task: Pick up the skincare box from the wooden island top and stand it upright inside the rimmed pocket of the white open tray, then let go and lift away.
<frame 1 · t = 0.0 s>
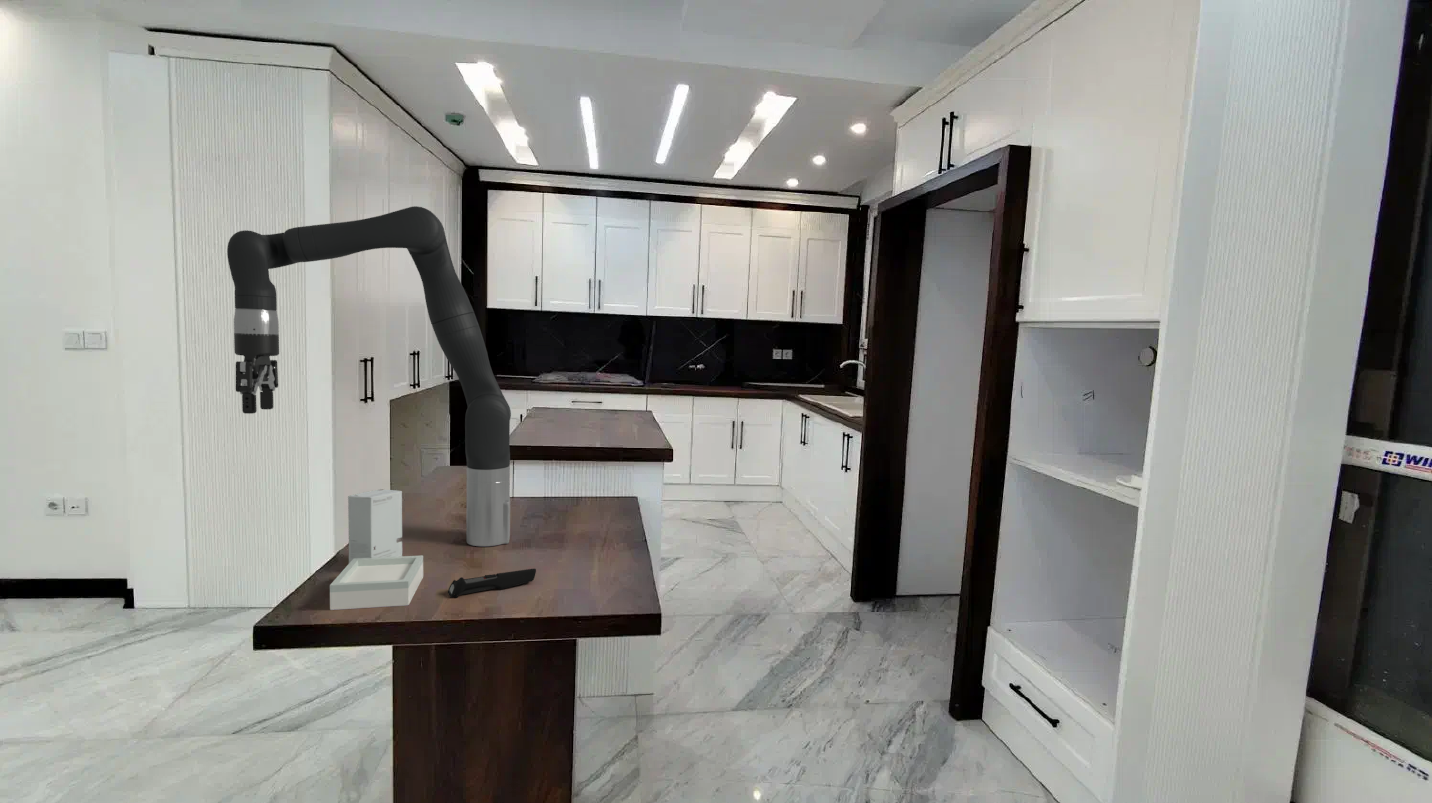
hand: (258, 411, 136), 29 cm above the table, tool pointing down, fingers open, 8 cm apart
electric trimmer: (491, 590, 121), on the table
skincare box: (376, 566, 131), on the table
white open tray: (379, 592, 118), on the table
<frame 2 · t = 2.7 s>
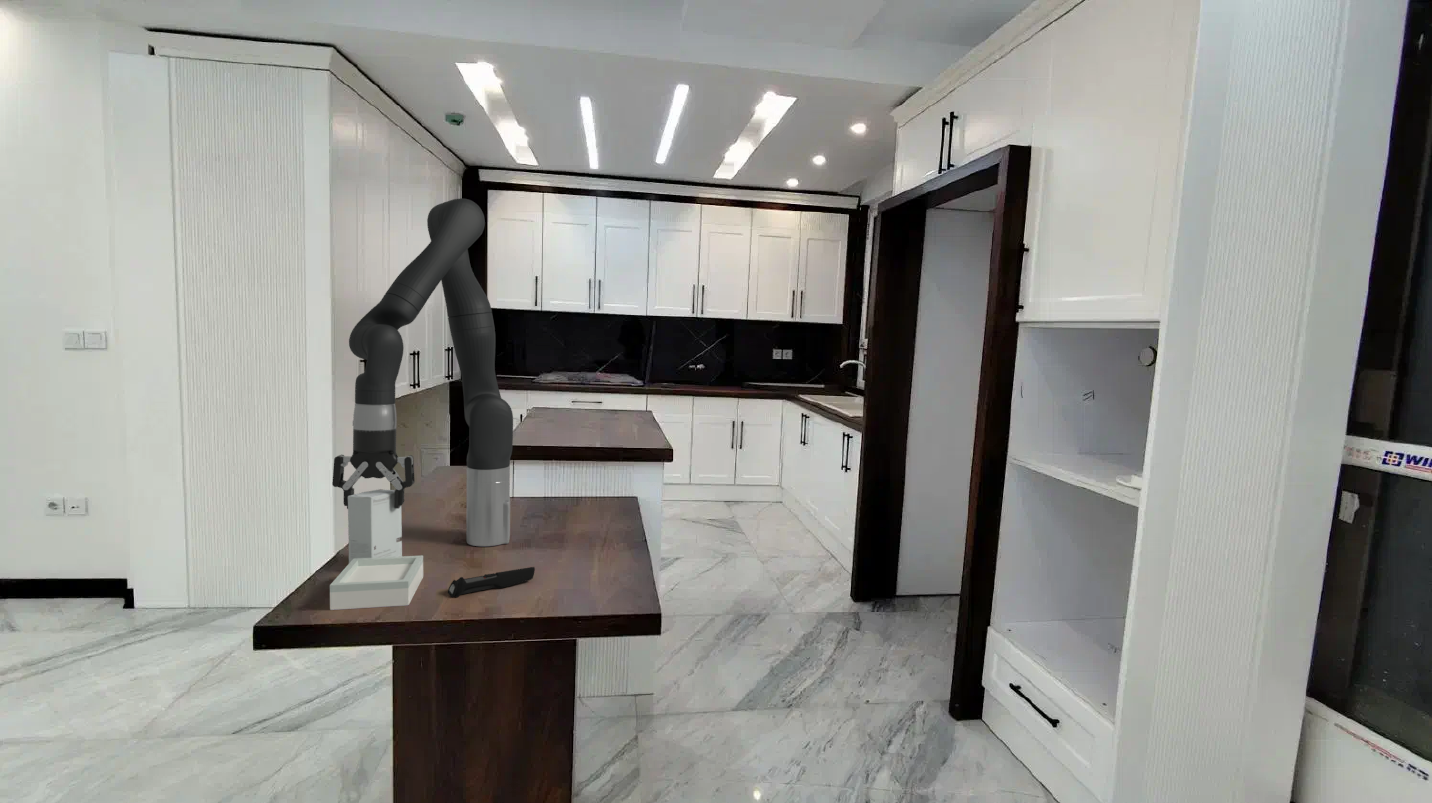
hand: (374, 507, 130), 12 cm above the table, tool pointing down, fingers open, 8 cm apart
nothing on the table moved.
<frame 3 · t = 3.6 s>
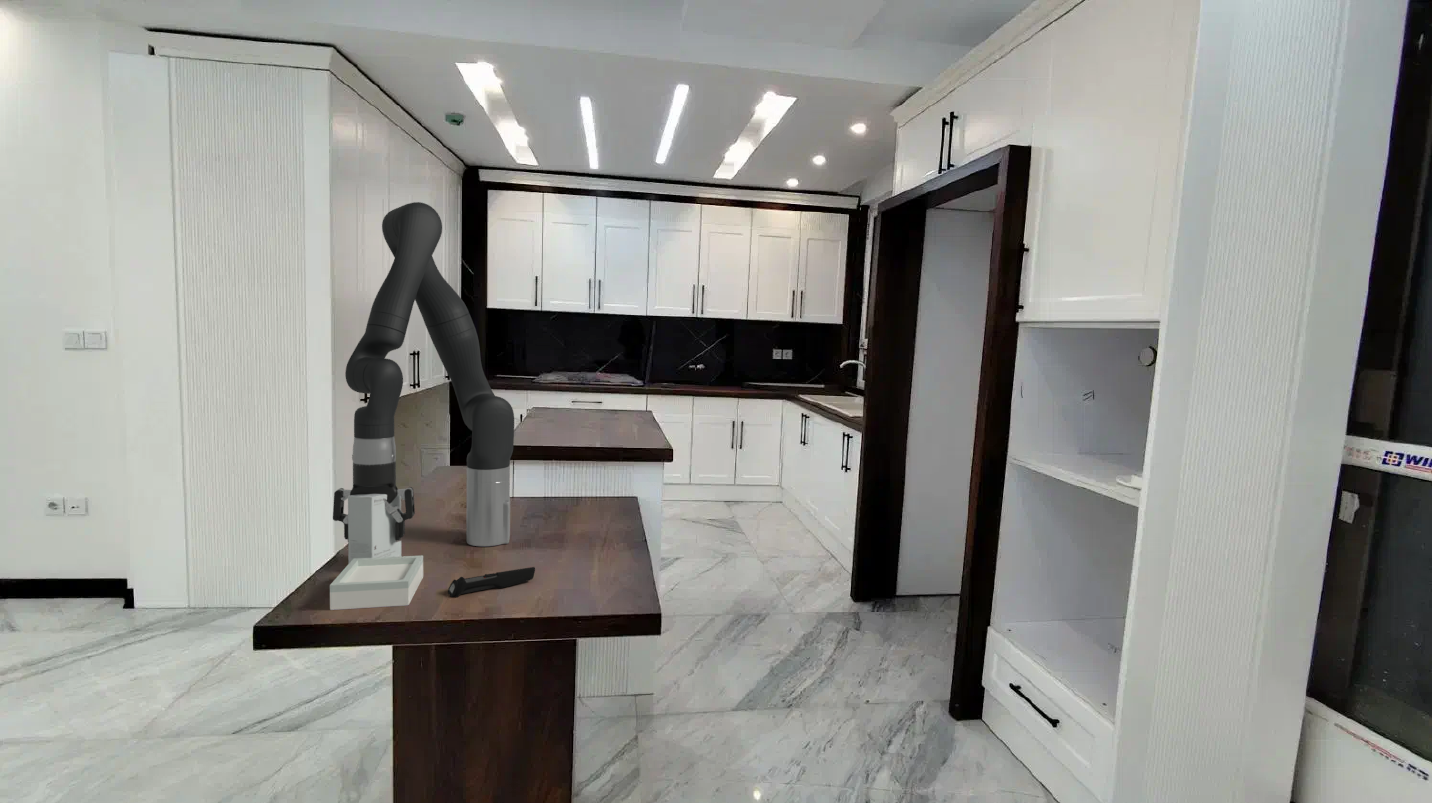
hand: (374, 540, 131), 5 cm above the table, tool pointing down, fingers open, 8 cm apart
skincare box: (375, 566, 131), on the table, touching gripper
everything else where it was.
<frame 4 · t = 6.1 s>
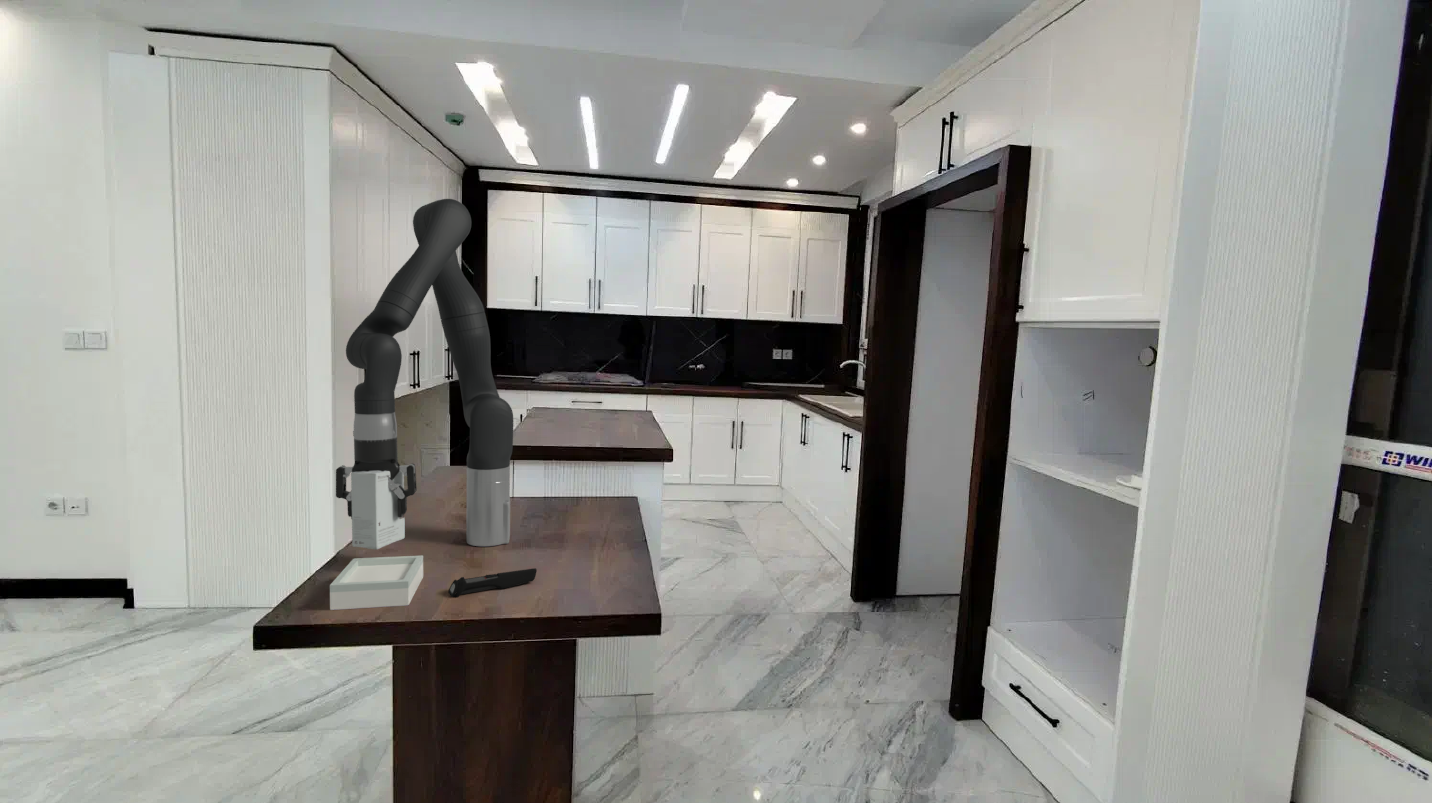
hand: (377, 517, 130), 10 cm above the table, tool pointing down, fingers closed on skincare box, 8 cm apart
skincare box: (379, 543, 131), point 4 cm above the table, touching gripper
everything else where it was.
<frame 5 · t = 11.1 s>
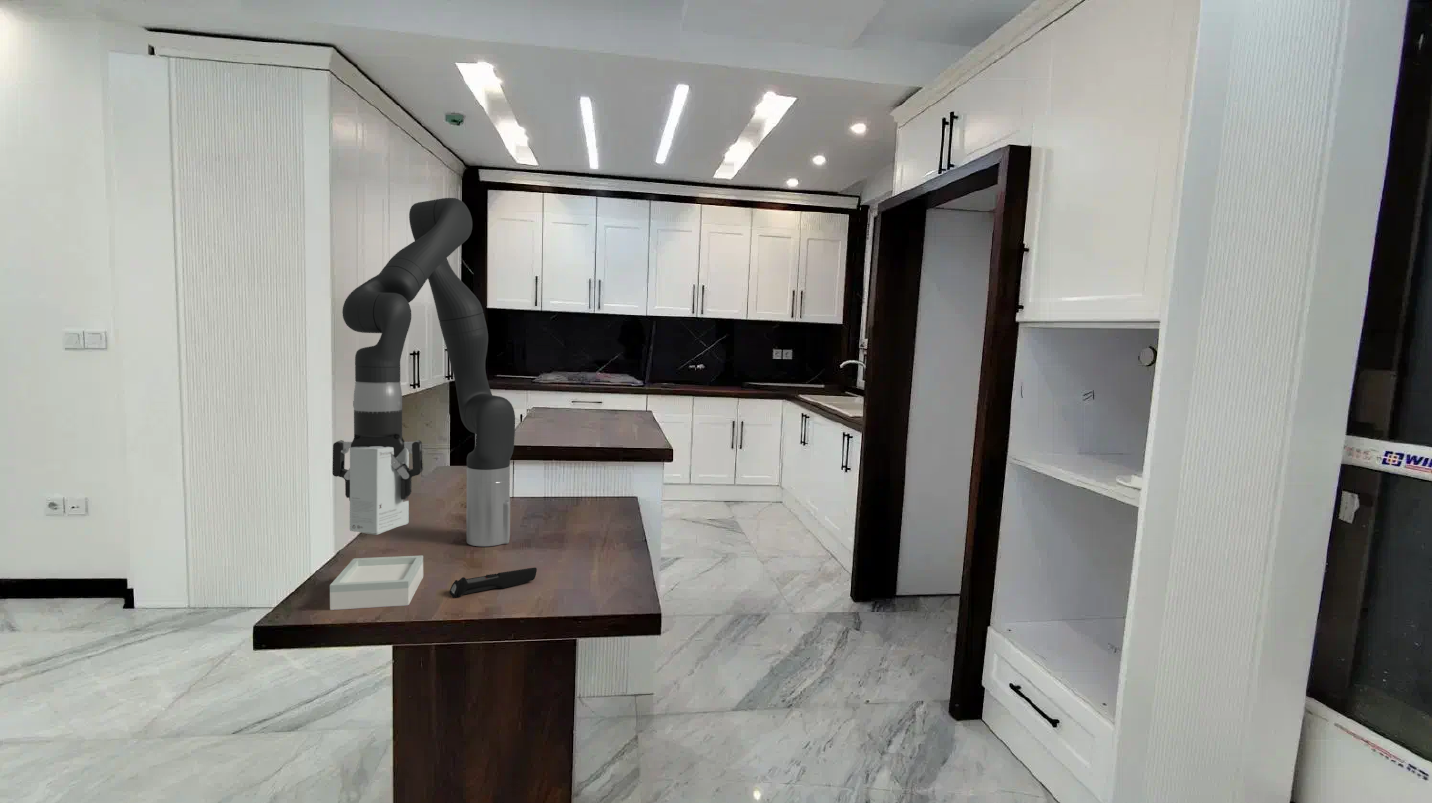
hand: (378, 499, 116), 17 cm above the table, tool pointing down, fingers closed on skincare box, 8 cm apart
skincare box: (379, 528, 117), point 11 cm above the table, touching gripper
everything else where it was.
when the fingers open (10 cm above the table, at t = 13.9 s): skincare box drops 2 cm, resting on white open tray.
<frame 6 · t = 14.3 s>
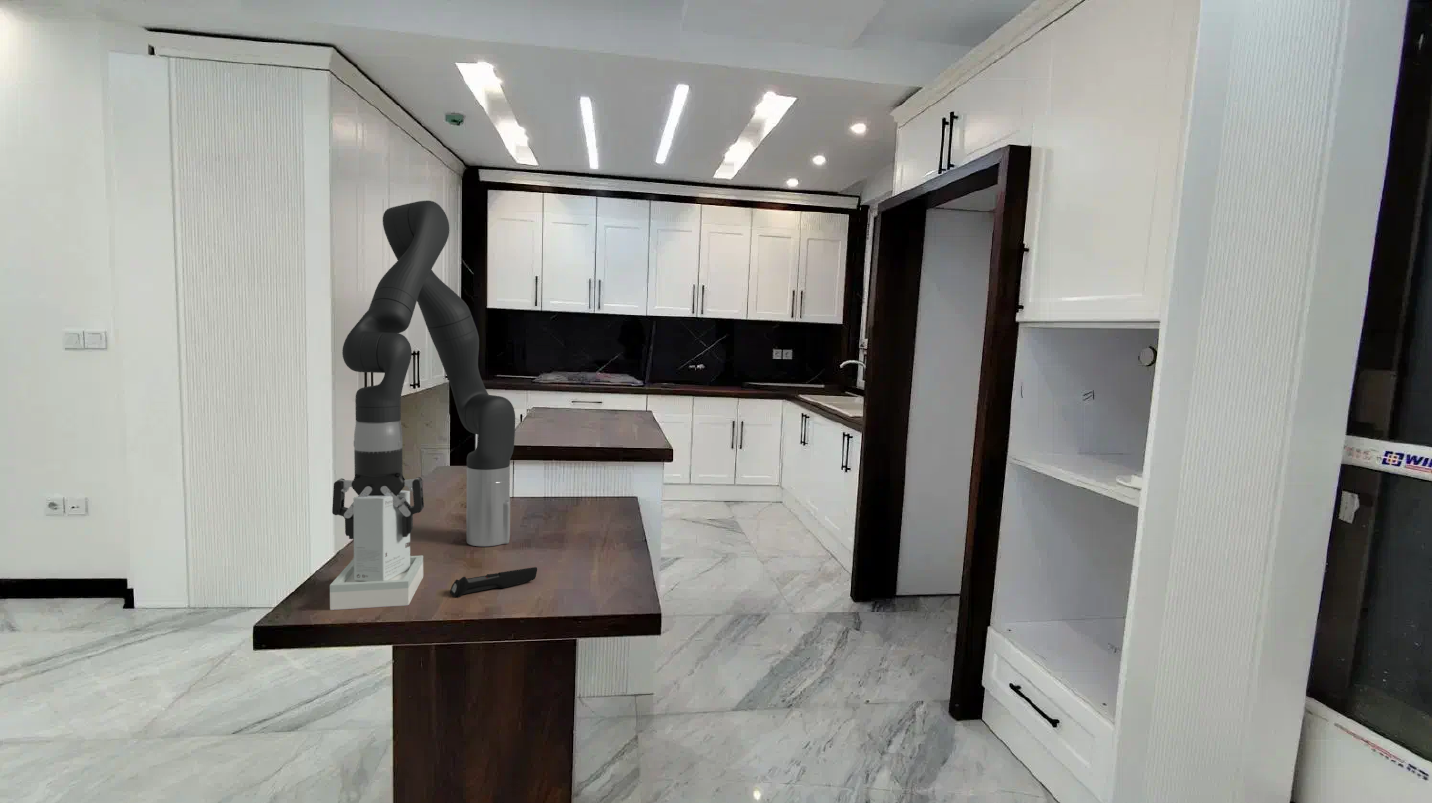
hand: (379, 536, 117), 10 cm above the table, tool pointing down, fingers open, 8 cm apart
skincare box: (382, 575, 118), point 3 cm above the table, touching white open tray
everything else where it was.
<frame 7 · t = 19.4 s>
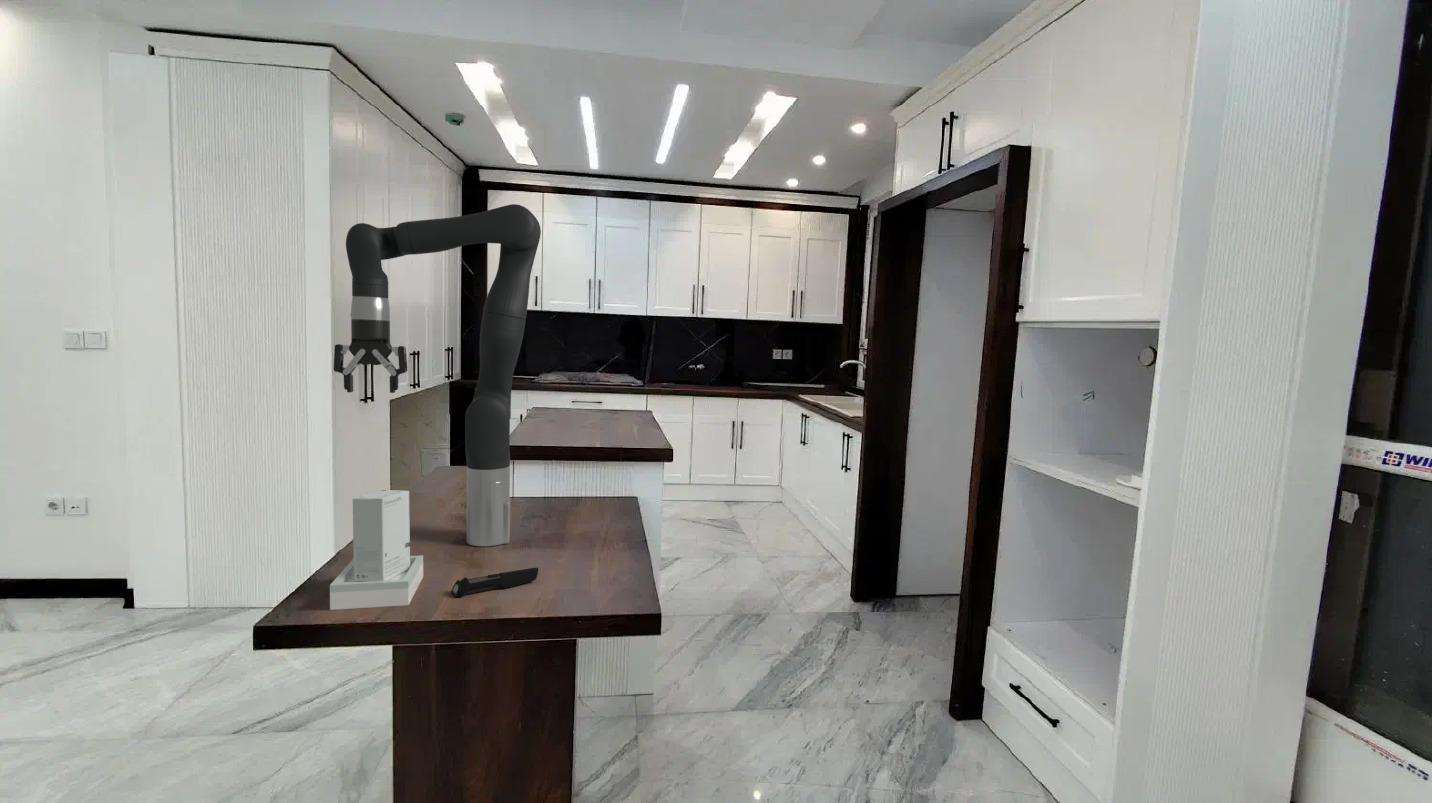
hand: (371, 392, 145), 33 cm above the table, tool pointing down, fingers open, 8 cm apart
nothing on the table moved.
at the end: skincare box 0.6 cm off-centre on the white open tray, point 2.8 cm above the white open tray's base; skincare box tilted 0°; the gripper is holding nothing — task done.
